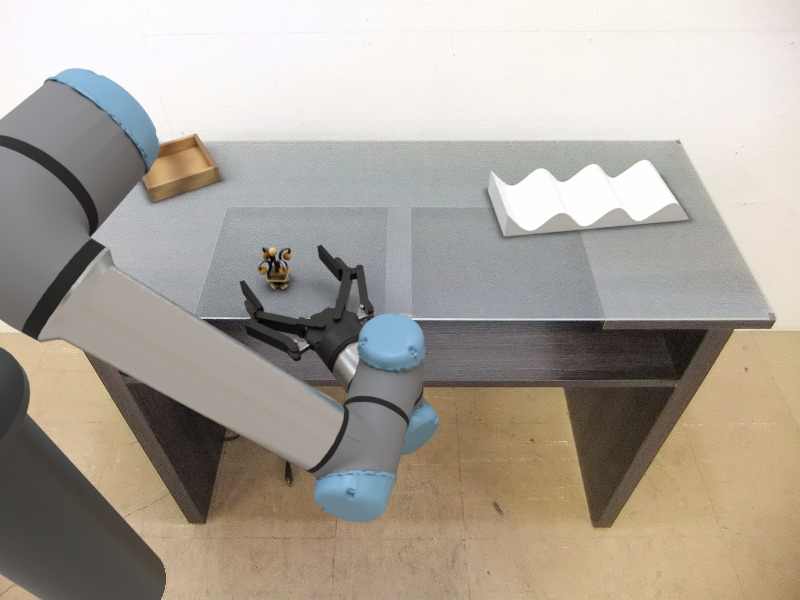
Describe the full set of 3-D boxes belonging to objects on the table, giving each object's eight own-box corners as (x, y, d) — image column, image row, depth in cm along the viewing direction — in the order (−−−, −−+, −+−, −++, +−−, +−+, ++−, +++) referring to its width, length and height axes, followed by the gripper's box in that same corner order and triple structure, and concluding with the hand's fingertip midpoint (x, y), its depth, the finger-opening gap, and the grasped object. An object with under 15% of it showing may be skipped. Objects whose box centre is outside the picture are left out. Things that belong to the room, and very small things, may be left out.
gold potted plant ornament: (260, 292, 99) (255, 258, 93) (265, 272, 102) (261, 237, 96) (288, 295, 99) (286, 260, 93) (293, 274, 102) (291, 239, 96)
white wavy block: (689, 219, 110) (699, 197, 106) (503, 236, 108) (507, 214, 104) (659, 176, 119) (668, 155, 115) (487, 191, 116) (490, 169, 112)
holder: (153, 202, 115) (147, 189, 112) (135, 166, 122) (130, 152, 120) (221, 180, 119) (217, 166, 117) (200, 146, 127) (196, 133, 124)
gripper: (277, 417, 81) (214, 318, 93) (425, 333, 90) (351, 253, 102) (268, 386, 75) (202, 286, 87) (426, 300, 85) (348, 220, 96)
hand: (282, 268), depth 94 cm, fingers open, 13 cm apart
